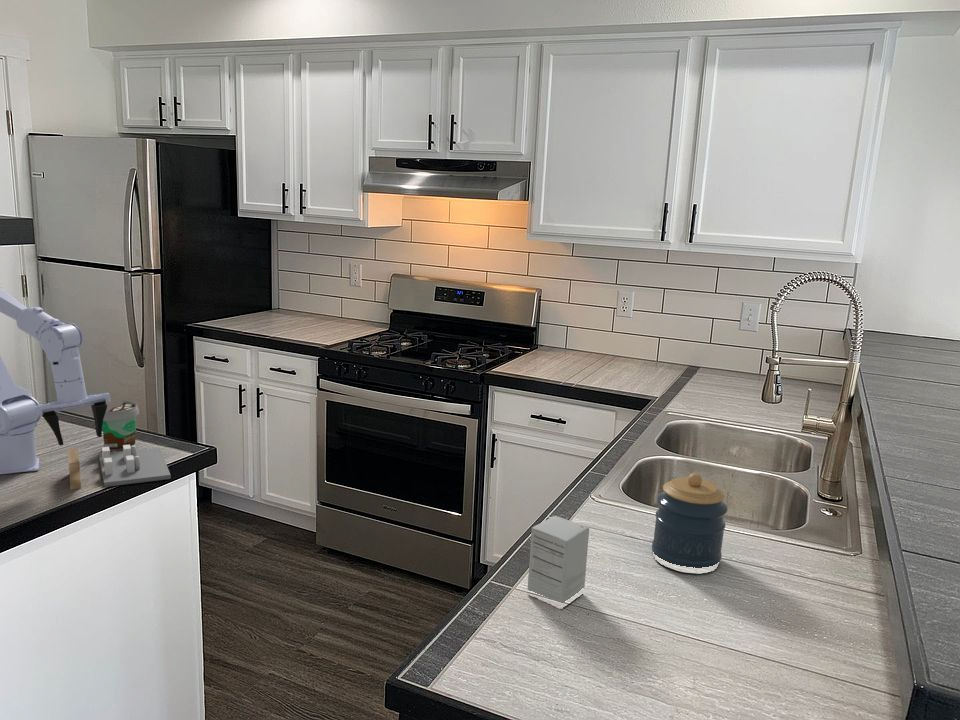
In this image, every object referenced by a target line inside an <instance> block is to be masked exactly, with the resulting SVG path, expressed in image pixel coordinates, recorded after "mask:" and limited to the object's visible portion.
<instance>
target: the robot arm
mask: <svg viewBox="0 0 960 720" xmlns="http://www.w3.org/2000/svg"><path fill="white" fill-rule="evenodd" d="M0 313H2V314H3V315H6V316H8V317H9V318H11V319H12V320H15V321H16V326H17V328H18V329H19V330H21V331H23V332H24V333H25V334H26V335H27V334H28V335H29V336H30V337H32V338H33V339H36V340H37V341H38V342H39V345H40V348H41V349H42V351H43V352H44V353H45V355H46V359H47V360H48V362H49V363H50V367H51V372H52V377H53V382H54V387H55V391H56V392H55V393H56V398H57V401H52V402H48V403H43V404H40V403H39V401H38V400H37V399H36V398H34V397H33V395H32V393H31V392H30V390H29V389H28V388H27V389H26V388H24V387H21V386H19V385H17V384H16V382H15V381H14V379H13V377H12V375H11V373H10V371H9V370H8V368H7V366H6V363H5V362H4V359H3V358H2V356H1V355H0V475H7V474H17V473H24V472H26V473H27V472H36V471H39V470H40V457H37V444H36V443H37V442H36V432H35V431H36V429H35V428H37V427H38V423H39V422H40V421H41V420H42V417H43V419H44V420H45V422H46V423H47V425H48V426H49V427H50V429H51V430H52V432H53V434H54V436H55V438H56V440H57V444H58V445H59V446H61V447H62V446H64V440H63V436H62V433H61V429H60V421H59V416H58V414H57V412H63V411H68V410H74V409H78V408H82V407H83V408H84V407H89V406H90V407H91V411H92V415H93V419H94V426H95V427H94V428H95V434H96V437H98V438H101V437H103V429H102V424H103V419H104V415H105V412H107V410H108V409H107V408H108V403H111V402H112V401H111V395H110V393H109V392H103V393H99V394H90V395H88V393H87V389H86V388H87V387H86V383H85V378H84V377H85V376H84V371H83V367H82V361H81V355H80V350H79V349H80V347H81V346H82V345H83V341H84V337H83V336H84V335H83V333H82V330H81V329H80V328H79V326H77V325H76V324H75V323H73V322H66V323H65V322H61V321H60V319H58V318H55V317H53V316H51V315H50V314H48V313H46V312H45V311H44V308H42V307H40V306H30V307H27V306H25V304H23V303H21V302H20V301H19V300H17V299H16V298H15V297H13V296H12V295H10V294H9V293H8V292H6V291H5V290H3V288H2V285H1V284H0Z"/></svg>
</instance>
